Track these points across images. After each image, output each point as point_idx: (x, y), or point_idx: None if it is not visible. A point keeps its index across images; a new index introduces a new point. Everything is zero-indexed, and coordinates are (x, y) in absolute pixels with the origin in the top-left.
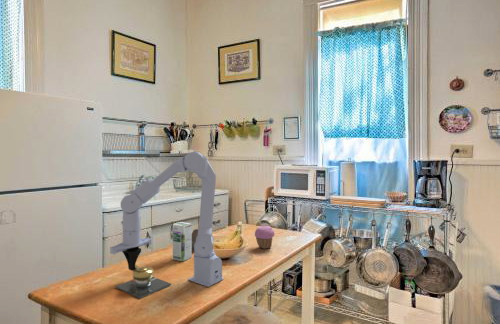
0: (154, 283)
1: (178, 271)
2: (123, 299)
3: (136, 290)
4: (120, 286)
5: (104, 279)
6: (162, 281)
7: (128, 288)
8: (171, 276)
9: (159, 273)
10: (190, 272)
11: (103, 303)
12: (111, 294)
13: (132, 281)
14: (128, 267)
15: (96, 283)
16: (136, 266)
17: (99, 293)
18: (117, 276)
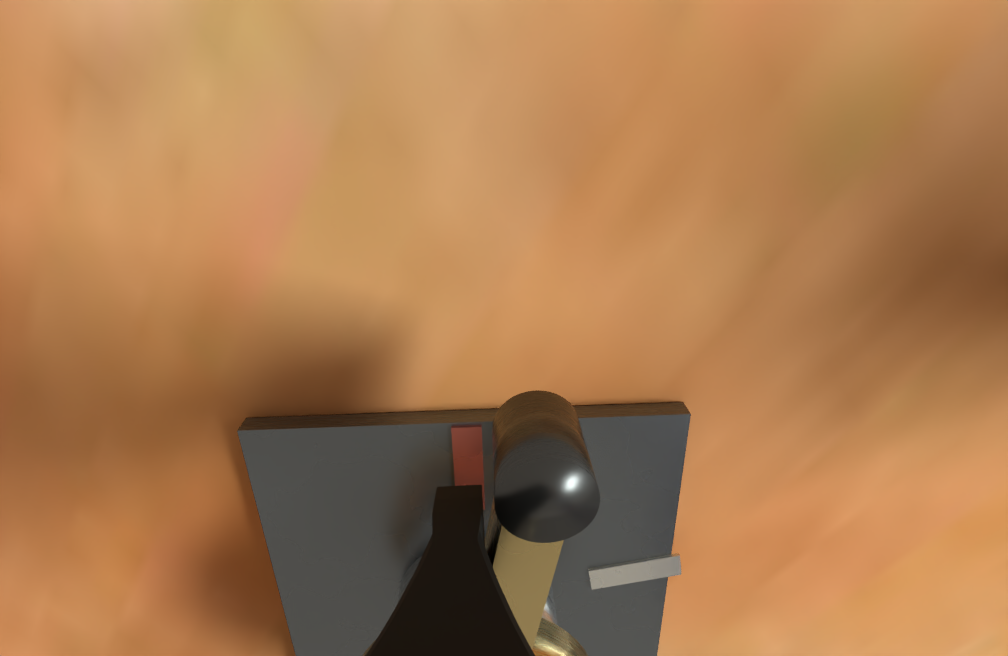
0: None
1: (957, 542)
2: (212, 650)
3: (357, 642)
4: (280, 478)
5: (234, 32)
6: (639, 651)
7: (322, 569)
8: (807, 582)
9: (822, 445)
10: (972, 629)
11: (38, 606)
12: (155, 515)
13: (447, 464)
14: (435, 502)
15: (81, 87)
16: (516, 608)
17: (49, 412)
18: (440, 92)
